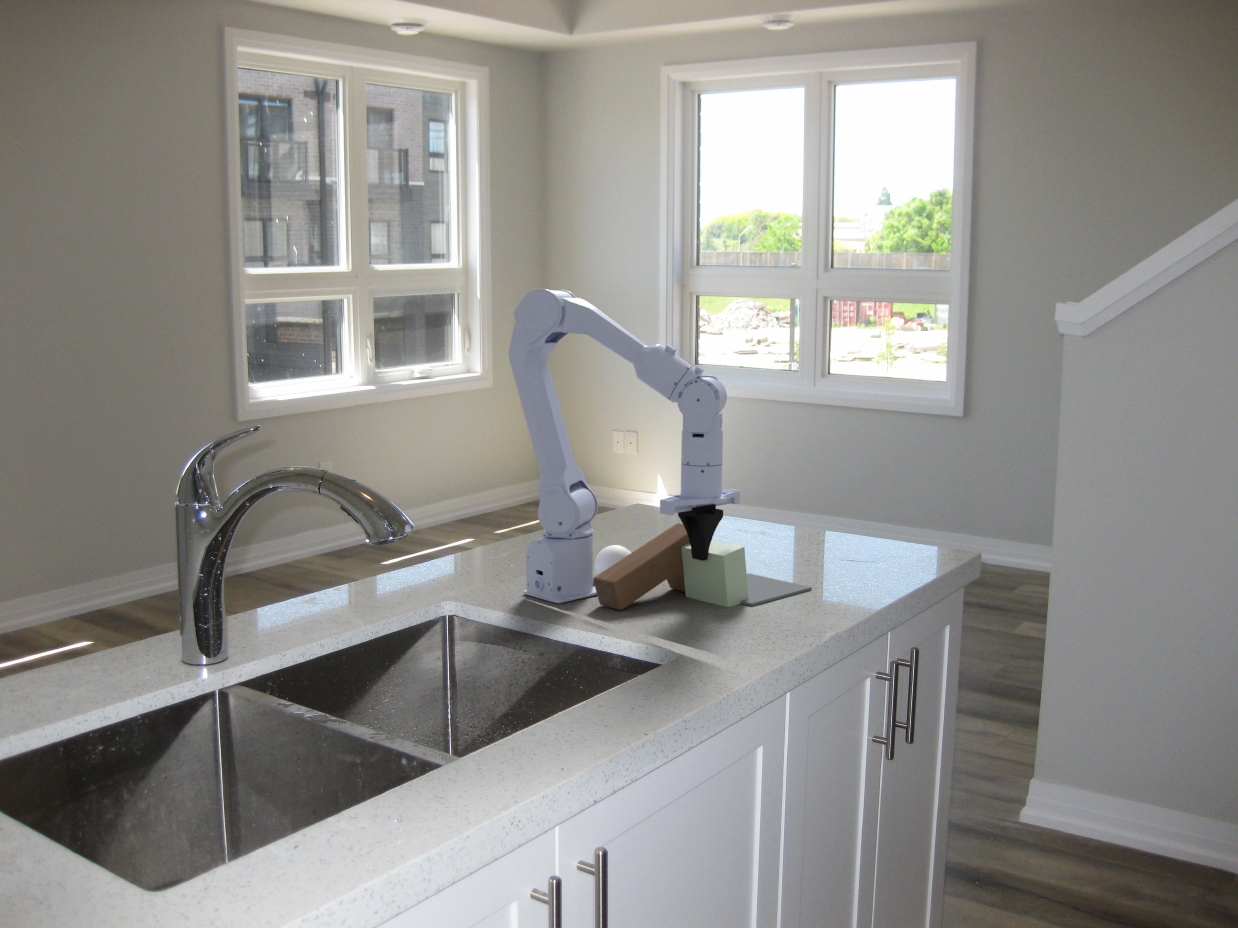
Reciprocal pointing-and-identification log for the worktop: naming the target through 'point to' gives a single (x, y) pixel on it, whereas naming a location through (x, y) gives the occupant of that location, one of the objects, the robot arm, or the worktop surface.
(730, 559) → the sage block
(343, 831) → the worktop surface
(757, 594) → the mat
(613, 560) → the lightbulb
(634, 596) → the wooden block
